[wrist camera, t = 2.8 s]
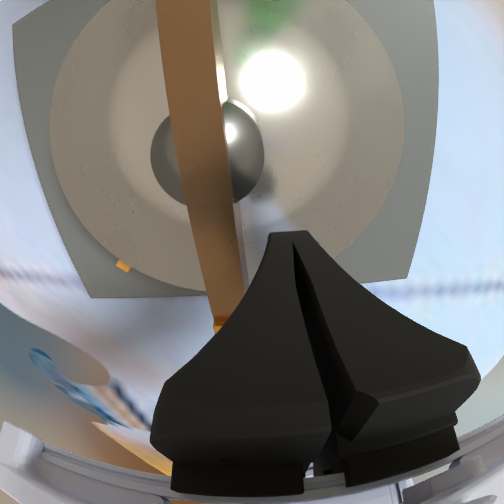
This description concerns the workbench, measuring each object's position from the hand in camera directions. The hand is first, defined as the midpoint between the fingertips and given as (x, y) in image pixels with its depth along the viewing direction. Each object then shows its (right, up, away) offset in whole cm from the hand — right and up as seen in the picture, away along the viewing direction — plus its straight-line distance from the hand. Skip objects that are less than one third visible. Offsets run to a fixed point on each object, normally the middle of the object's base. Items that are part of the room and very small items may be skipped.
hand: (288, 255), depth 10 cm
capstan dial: (-2, +4, 0) cm, 5 cm away
